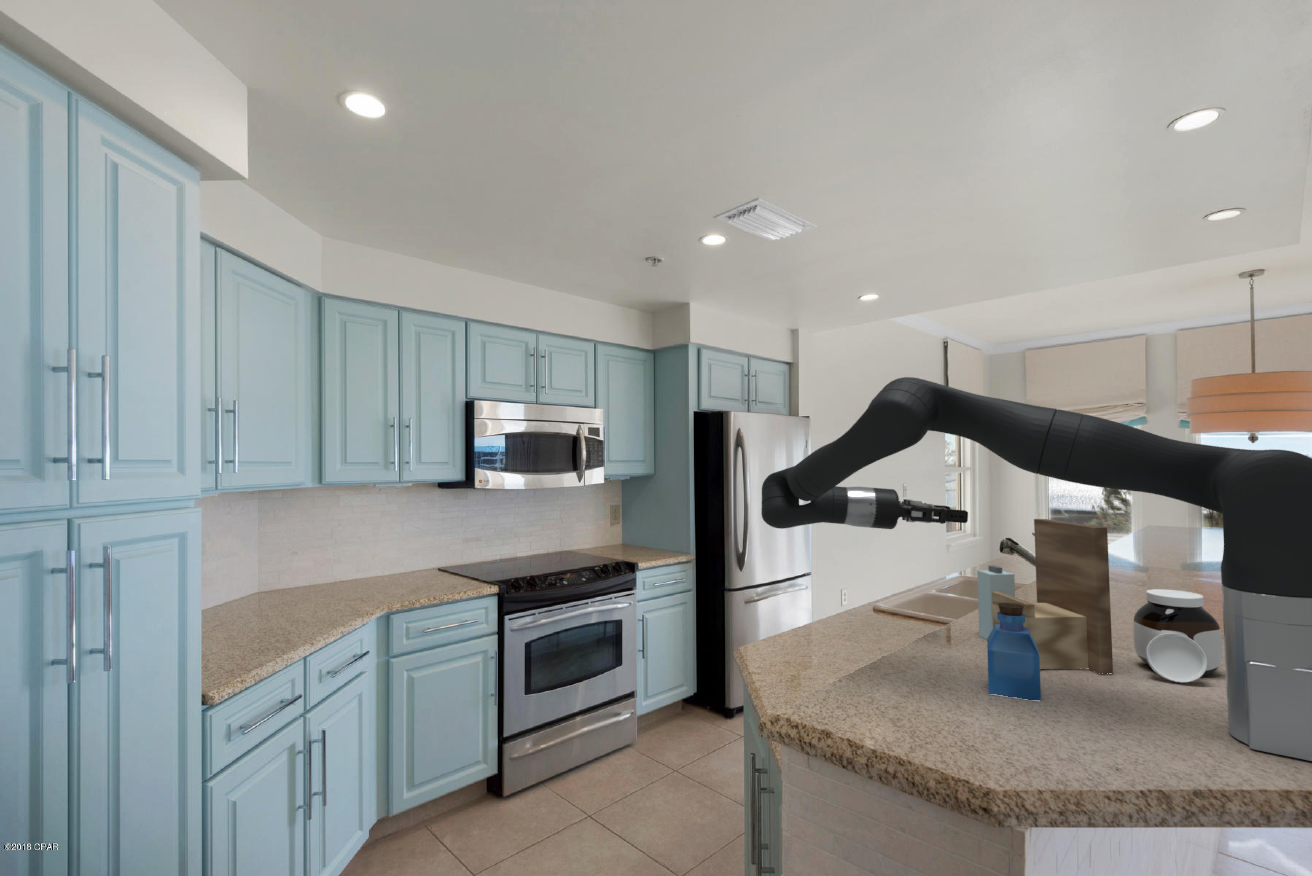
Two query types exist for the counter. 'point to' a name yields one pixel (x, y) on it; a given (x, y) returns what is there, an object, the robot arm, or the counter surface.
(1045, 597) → the cleat board
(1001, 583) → the pale blue tall block
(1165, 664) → the spread jar
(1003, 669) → the perfume bottle
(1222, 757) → the counter surface
